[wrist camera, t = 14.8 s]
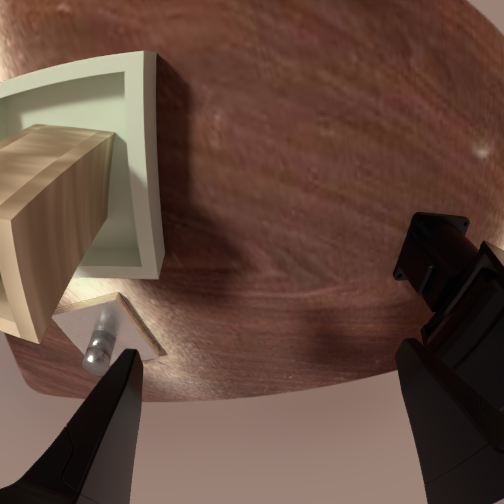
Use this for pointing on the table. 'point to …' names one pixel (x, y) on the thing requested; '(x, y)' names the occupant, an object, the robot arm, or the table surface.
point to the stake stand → (104, 331)
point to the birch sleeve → (47, 217)
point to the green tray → (124, 149)
